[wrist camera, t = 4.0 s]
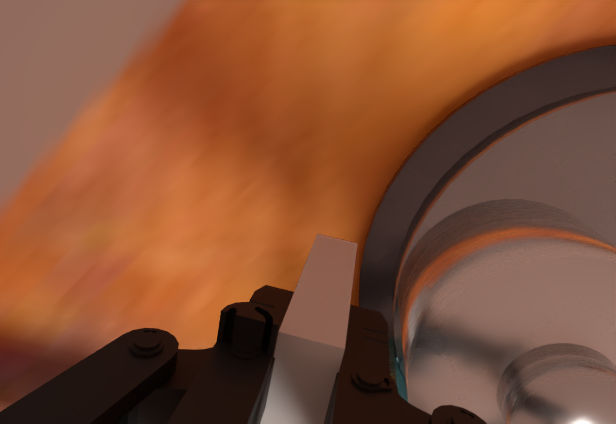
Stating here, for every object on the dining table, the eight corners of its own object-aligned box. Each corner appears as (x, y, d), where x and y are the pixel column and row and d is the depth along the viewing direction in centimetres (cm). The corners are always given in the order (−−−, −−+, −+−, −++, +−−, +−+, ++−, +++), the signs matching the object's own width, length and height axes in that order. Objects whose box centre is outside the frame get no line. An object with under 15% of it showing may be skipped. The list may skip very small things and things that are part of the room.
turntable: (827, -6, 15) (1127, -64, 9) (893, 423, 18) (1136, 582, 12) (260, 217, 20) (212, 273, 14) (401, 515, 23) (409, 658, 18)
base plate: (320, 417, 23) (318, 428, 23) (428, -6, 17) (430, -10, 16) (729, 529, 22) (742, 545, 21) (1021, 106, 15) (1055, 107, 15)
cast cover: (376, 356, 19) (377, 508, 12) (428, 177, 16) (466, 244, 10) (567, 405, 18) (680, 595, 11) (651, 227, 16) (859, 335, 9)
